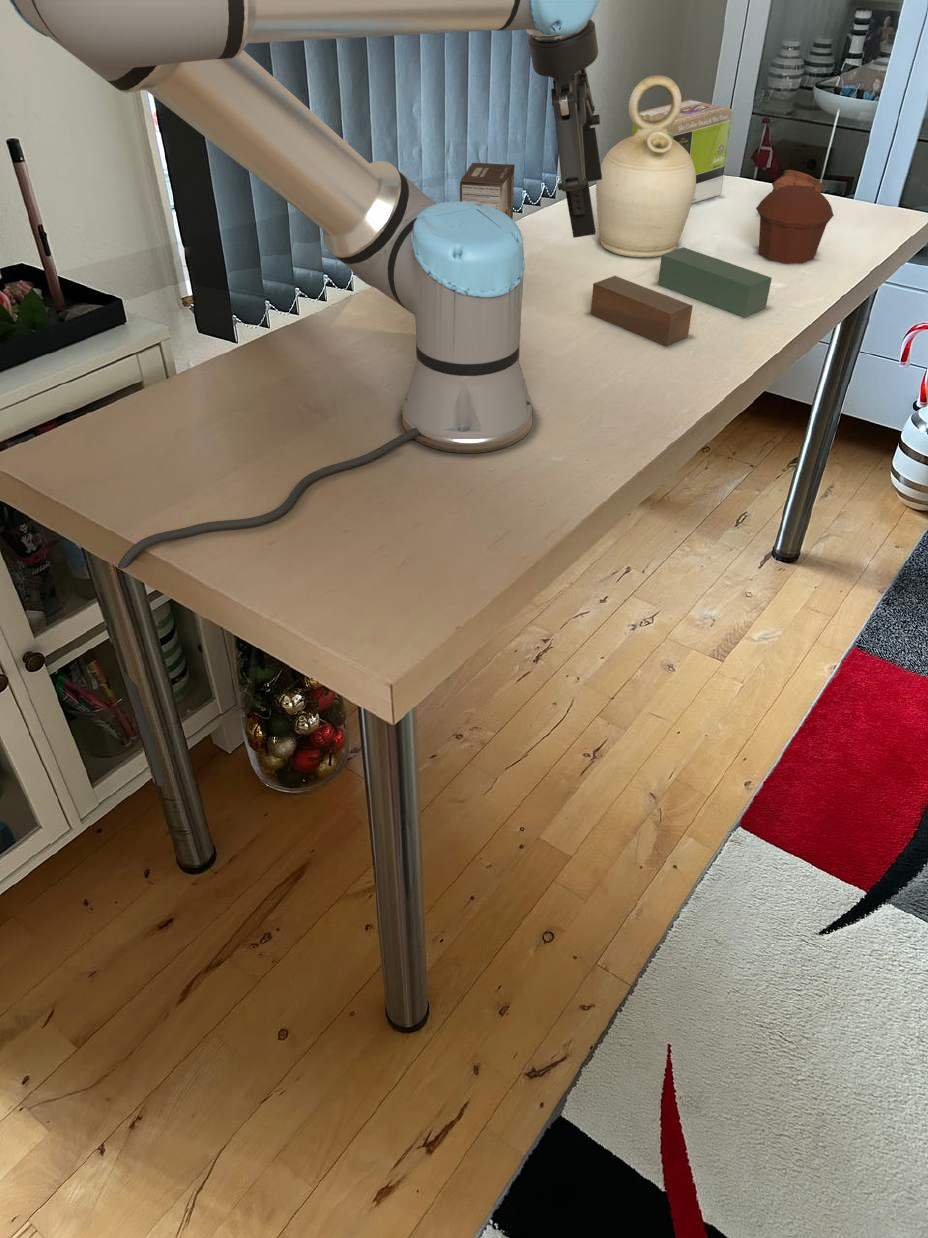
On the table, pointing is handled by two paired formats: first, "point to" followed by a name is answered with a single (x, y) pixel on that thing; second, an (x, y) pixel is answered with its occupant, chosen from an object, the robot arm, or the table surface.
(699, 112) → the tea box
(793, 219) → the muffin
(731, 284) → the green bar
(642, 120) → the jug
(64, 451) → the table surface
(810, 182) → the bread bun
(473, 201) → the coffee box
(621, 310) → the walnut bar
